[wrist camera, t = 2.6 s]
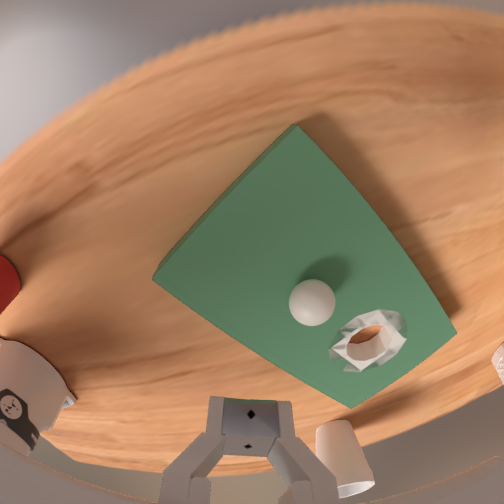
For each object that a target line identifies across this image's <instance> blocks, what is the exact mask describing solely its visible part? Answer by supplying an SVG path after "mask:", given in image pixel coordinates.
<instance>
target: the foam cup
mask: <svg viewBox="0 0 504 504" xmlns="http://www.w3.org/2000/svg"><path fill="white" fill-rule="evenodd" d="M316 457H317V458H318V459H319V460H320V461H321V462H322V463H323V464H324V465H325V466H326V467H327V468H328V469H329V471H330V472H331V473H332V474H333V475H334V476H335V477H336V481H337V487H338V493H339V498H344V497H348V496H352V495H355V494H358V493H361V492H363V491H365V490H367V489H369V488H371V487H372V486H373V485H374V484H375V482H374V479H373V474H372V470H371V469H370V468H369V466H368V463H367V461H366V459H365V456H364V454H363V452H362V449H361V447H360V444H359V442H358V440H357V437H356V435H355V433H354V430H353V428H352V426H351V424H350V422H349V421H347V420H335V421H330V422H327V423H325V424H323V425H321V426H320V427H318V428H317V430H316Z"/></svg>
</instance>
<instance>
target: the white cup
mask: <svg viewBox="0 0 504 504" xmlns="http://www.w3.org/2000/svg"><path fill="white" fill-rule="evenodd" d="M491 362H492V363H493V365H494V367H495V368H496V370H497V373H498V375H499V377H500V379H501V380H502V383H503V384H504V342H503V343H502V344H501V345H500V346H499V347H498V349H497V350H496V351H495V353H494V355H493V356H492V360H491Z"/></svg>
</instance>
